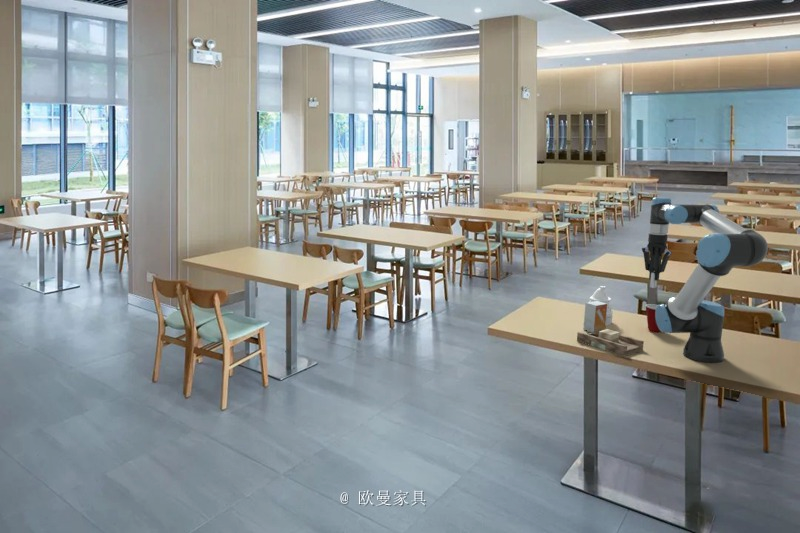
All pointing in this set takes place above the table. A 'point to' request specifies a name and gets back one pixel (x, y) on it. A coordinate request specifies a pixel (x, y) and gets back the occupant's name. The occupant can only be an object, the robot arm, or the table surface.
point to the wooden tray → (611, 343)
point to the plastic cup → (652, 318)
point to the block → (609, 335)
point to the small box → (595, 315)
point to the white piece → (602, 297)
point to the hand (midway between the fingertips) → (653, 287)
